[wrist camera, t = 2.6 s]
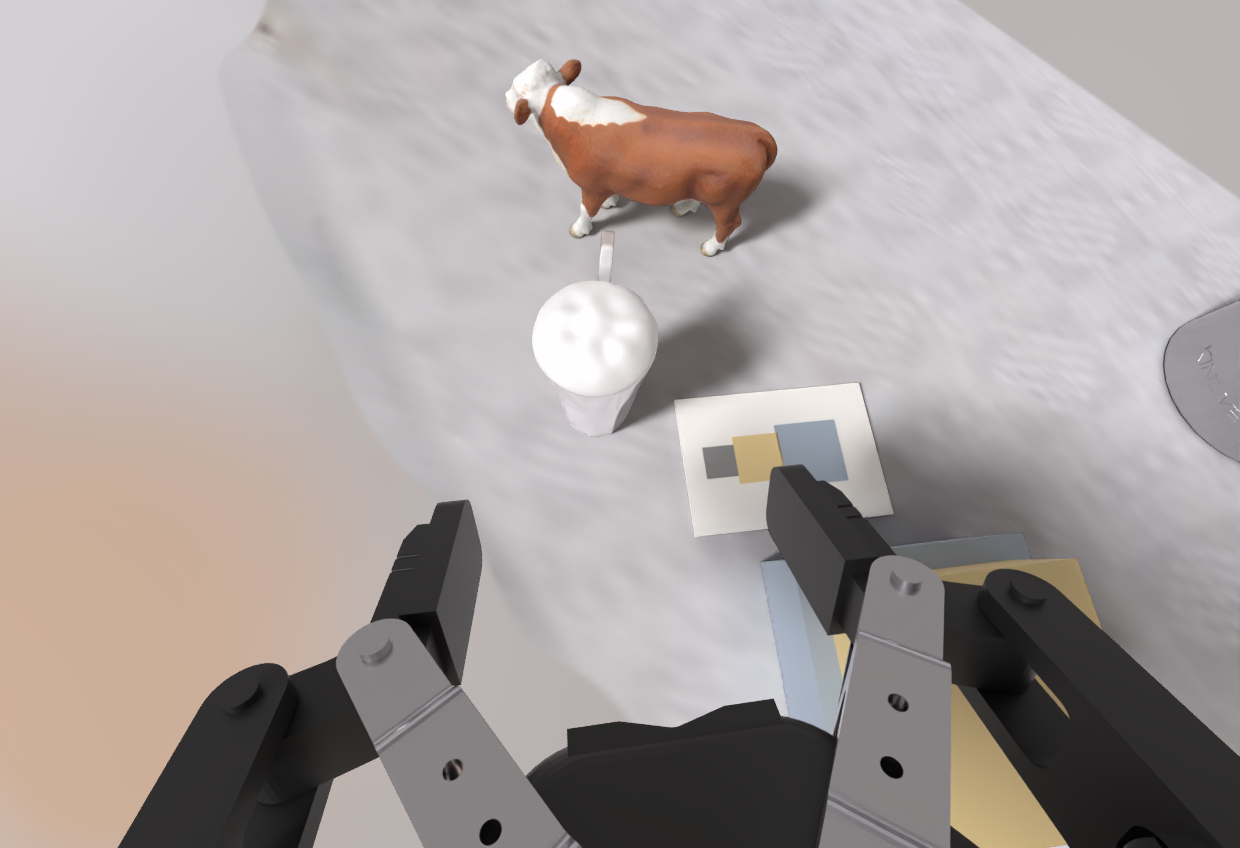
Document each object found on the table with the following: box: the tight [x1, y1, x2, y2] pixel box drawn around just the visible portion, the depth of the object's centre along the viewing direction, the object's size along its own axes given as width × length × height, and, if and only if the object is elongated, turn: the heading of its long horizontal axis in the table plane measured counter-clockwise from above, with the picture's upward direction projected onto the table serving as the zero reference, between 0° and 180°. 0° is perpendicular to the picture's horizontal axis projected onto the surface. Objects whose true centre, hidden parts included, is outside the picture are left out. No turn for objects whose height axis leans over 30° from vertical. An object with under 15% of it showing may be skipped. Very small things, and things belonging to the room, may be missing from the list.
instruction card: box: [674, 383, 894, 537], centre depth 25 cm, size 10×7×1 cm
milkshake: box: [532, 230, 658, 437], centre depth 21 cm, size 4×5×10 cm
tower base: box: [761, 533, 1102, 848], centre depth 19 cm, size 10×10×7 cm
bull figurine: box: [505, 59, 777, 256], centre depth 25 cm, size 4×13×8 cm, turn 78°
